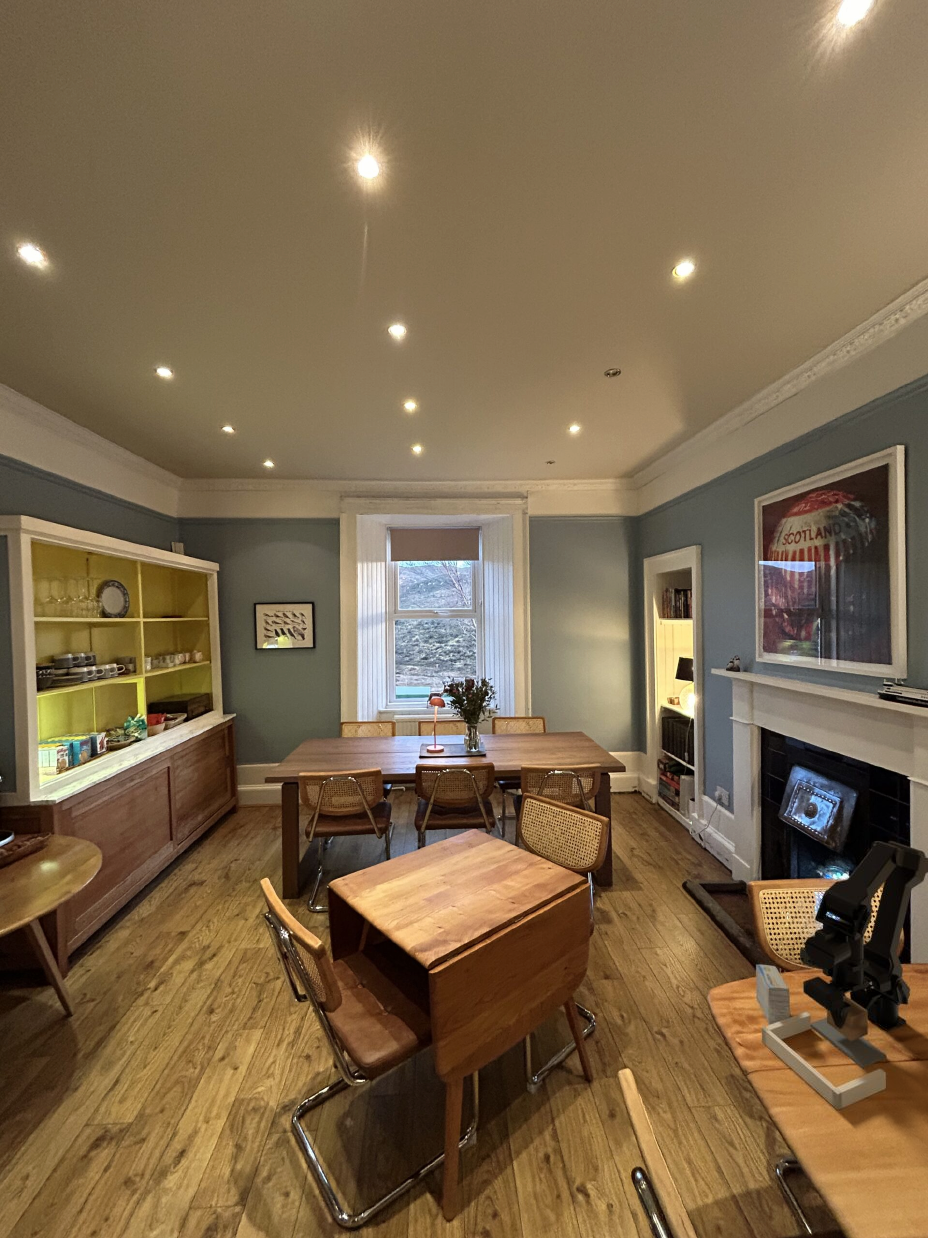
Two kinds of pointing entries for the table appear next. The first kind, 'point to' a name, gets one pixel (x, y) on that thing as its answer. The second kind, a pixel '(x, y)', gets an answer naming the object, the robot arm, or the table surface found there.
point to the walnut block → (852, 1021)
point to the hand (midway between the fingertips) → (847, 1024)
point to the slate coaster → (850, 1044)
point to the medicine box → (772, 994)
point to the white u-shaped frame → (833, 1095)
